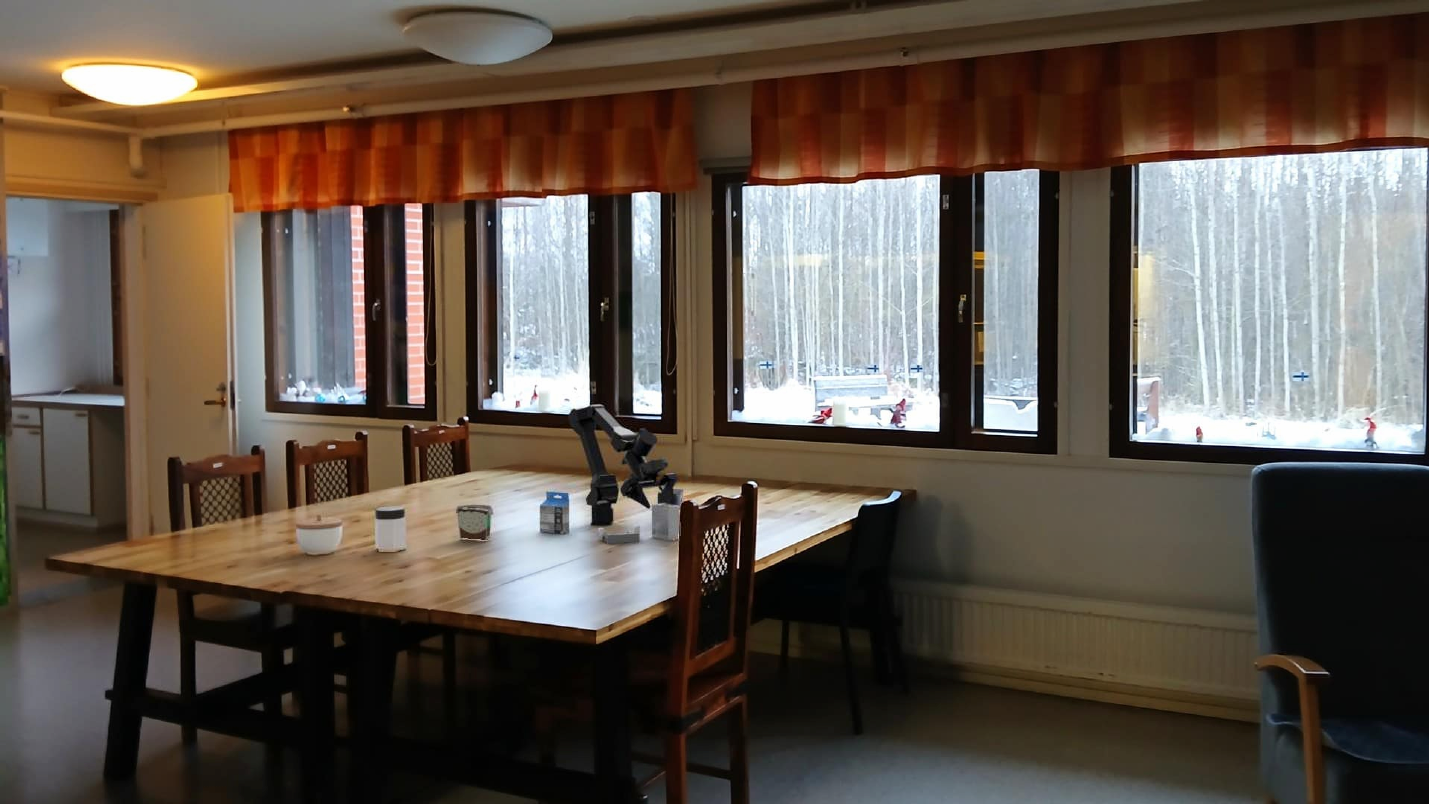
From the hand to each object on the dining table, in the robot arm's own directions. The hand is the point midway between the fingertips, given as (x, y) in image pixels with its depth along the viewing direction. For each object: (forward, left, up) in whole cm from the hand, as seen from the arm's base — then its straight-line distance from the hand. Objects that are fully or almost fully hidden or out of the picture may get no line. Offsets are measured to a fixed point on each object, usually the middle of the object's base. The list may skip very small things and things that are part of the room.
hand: (661, 506), depth 358 cm
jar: (-77, -18, -10) cm, 79 cm away
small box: (+1, +25, -10) cm, 27 cm away
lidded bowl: (-96, -22, -10) cm, 99 cm away
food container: (-55, -2, -10) cm, 56 cm away
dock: (-13, -3, -9) cm, 16 cm away
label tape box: (-34, +9, -10) cm, 36 cm away
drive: (+1, -2, -9) cm, 10 cm away
